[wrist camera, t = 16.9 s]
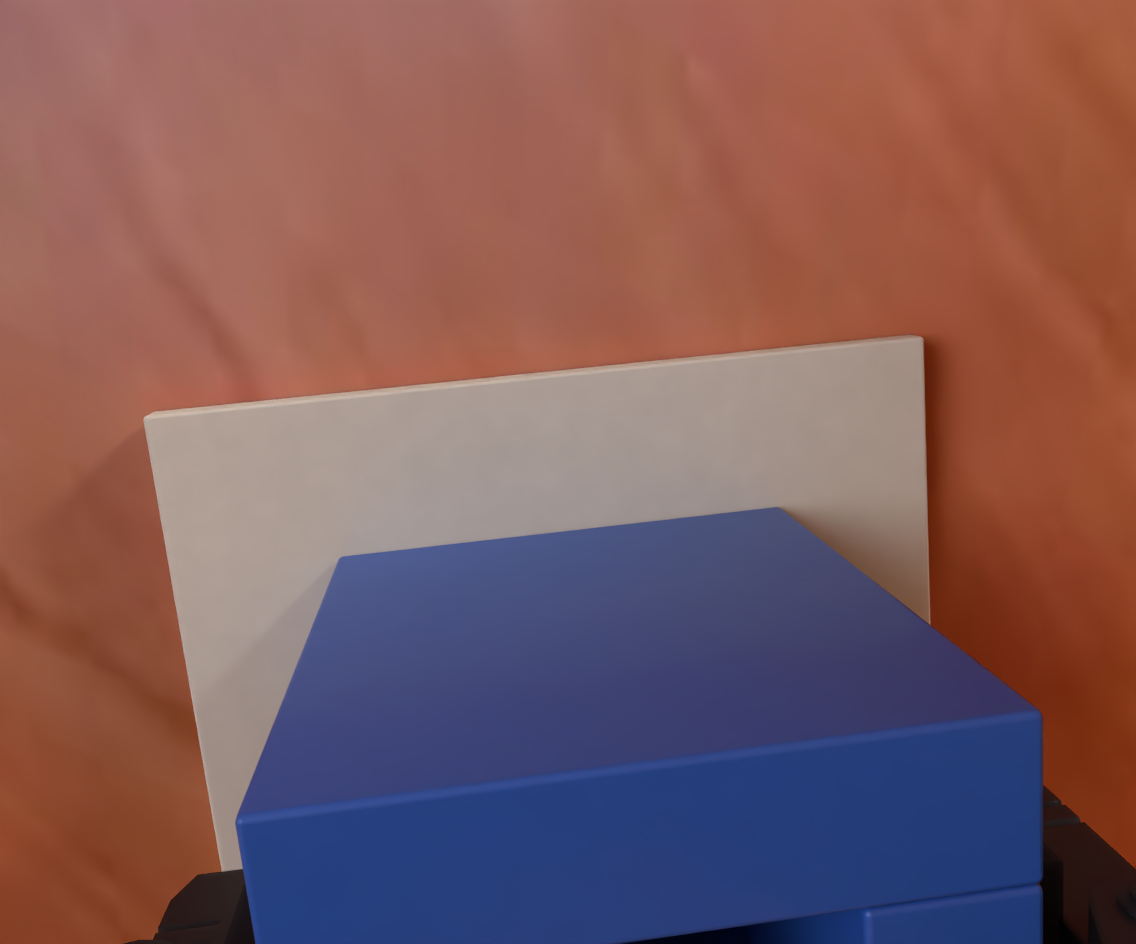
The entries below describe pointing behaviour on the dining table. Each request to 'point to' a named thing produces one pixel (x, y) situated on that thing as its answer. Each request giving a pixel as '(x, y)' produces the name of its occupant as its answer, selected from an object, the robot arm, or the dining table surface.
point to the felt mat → (512, 492)
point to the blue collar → (640, 753)
